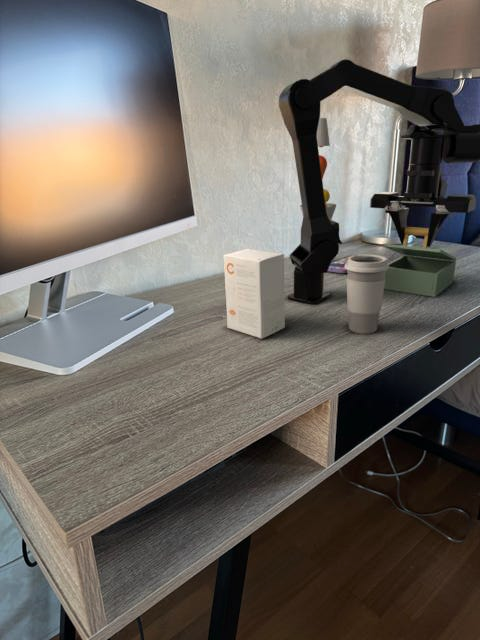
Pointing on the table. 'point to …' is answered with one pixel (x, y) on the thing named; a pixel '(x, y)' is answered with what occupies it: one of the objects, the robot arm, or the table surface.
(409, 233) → the box lid
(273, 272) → the small box
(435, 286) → the desk box
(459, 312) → the table surface
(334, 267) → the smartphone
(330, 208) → the lava lamp
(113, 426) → the table surface
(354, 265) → the cup
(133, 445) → the table surface
